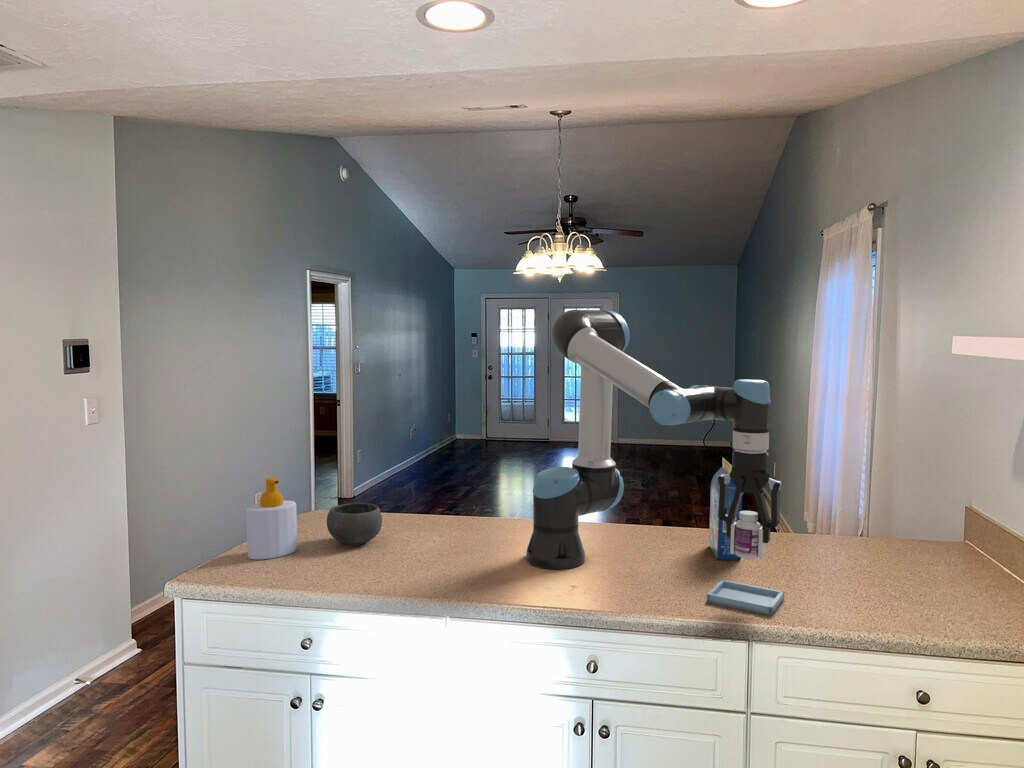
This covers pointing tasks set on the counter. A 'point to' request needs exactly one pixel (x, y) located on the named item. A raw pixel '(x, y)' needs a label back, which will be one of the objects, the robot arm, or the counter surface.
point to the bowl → (354, 522)
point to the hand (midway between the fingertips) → (747, 554)
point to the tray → (746, 597)
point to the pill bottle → (747, 535)
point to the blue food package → (719, 527)
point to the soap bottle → (271, 525)
